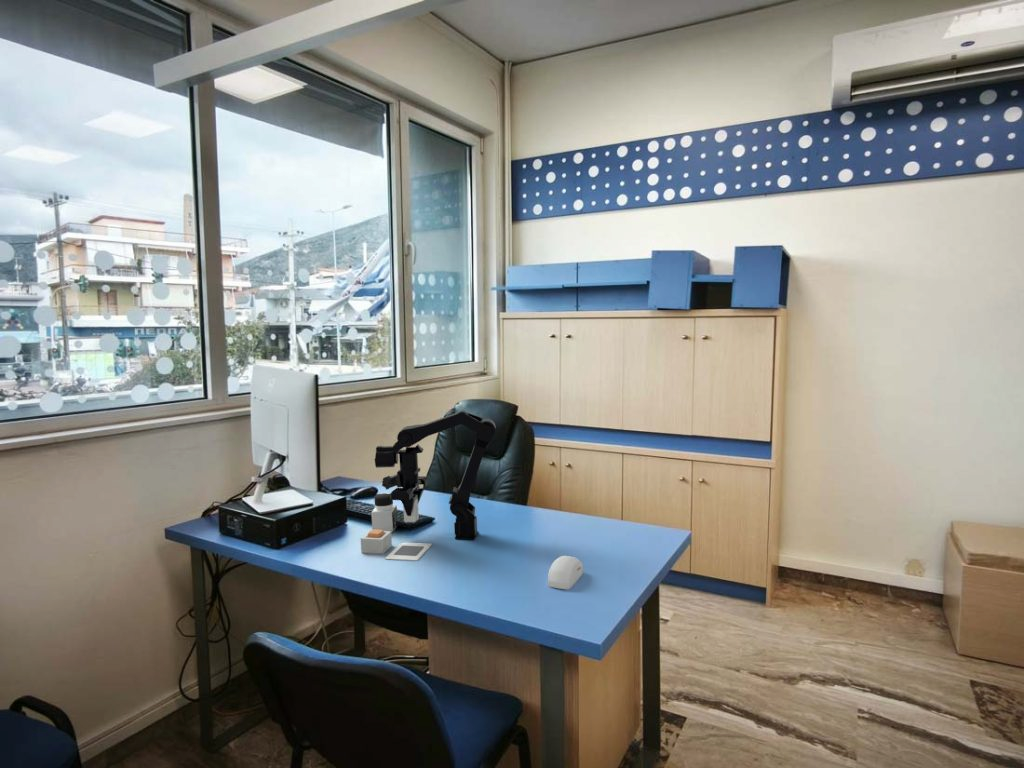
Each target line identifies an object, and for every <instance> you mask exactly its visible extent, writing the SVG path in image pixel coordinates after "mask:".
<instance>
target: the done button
mask: <svg viewBox="0 0 1024 768" xmlns="http://www.w3.org/2000/svg"><path fill="white" fill-rule="evenodd" d="M369 531H370V532H369ZM369 531H368V532H369V533H368V532H367V533H368V538H381V537H382V536H383V535H384V530H379V529H373V530H372V529H371V530H369Z"/></svg>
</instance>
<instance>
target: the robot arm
mask: <svg viewBox="0 0 1024 768" xmlns="http://www.w3.org/2000/svg"><path fill="white" fill-rule="evenodd" d="M460 425H461V426H464V427H466V428H467V429H469V430H471V431H473V432H475V433H476V435H475V441H474V446H473V449H472V452H471V454H470V457H469V460H468V463H467V466H466V468H465V471H464V474H463V476H462V479H461V483H459V486H458V488H457V487H456V486H454V487H453V490H452V493H451V496H450V497H449V501H448V505H449V511H450V513H451V514H452V515H454V516H455V522H454V540H472V541H473V540H475V539H476V537H478V536H479V534H480V532H479V531H478V518H477V515H475V514H476V507H475V506H474V505H473V504H472V503H471V502H470V499H471V498H470V497H471V492H472V488H473V484H474V482H475V479H476V476H477V474H478V471H479V468H480V465H481V462H482V460H483V457H484V454H485V451H486V450H487V448H488V446H489V445H490V444H491V442H492V440H493V438H494V437H495V434H496V423H495V422H494V421H493V419H491V418H489V417H485V418H482V417H480V416H479V415H475V414H472V413H470V412H467V411H466V410H463V409H461V410H459V411H457V412H456V413H452V414H450V415H446V416H444V417H441V418H438V419H435V420H432V421H429V422H426V423H422V424H414V425H407V426H404V427H402V429H401V430H400V431H399V432H398V434H397V437H396V439H397V441H396V442H395V443H394V444H393V446H391V445H389V446H388V445H387V446H384V445H377V446H376V448H375V457H374V466H375V468H376V469H377V468H379V469H380V468H395V466H396V465H398V463H399V470H397V472H396V474H394V475H387V476H385V477H383V478H382V481H381V482H382V483H381V487H384V488H385V490H389V489H391V488H393V487H396V488H395V489H393V490H392V491H391V492H390V500H393V501H400V502H401V503H402V505H403V506H404V508H405V511H406V514H407V516H411V513H412V510H413V506H414V503H415V499H416V495H418V504H420V503H419V502H420V500H421V497H422V495H423V494H424V491H425V488H426V487H427V486H428V485H429V478H428V477H427V476H425V475H421V476H419V473H420V472H421V467H419V461H418V459H419V458H418V454H421V453H423V451H424V448H423V447H421V446H420V445H419V444H417V443H419V442H420V441H422V440H424V439H425V438H427V437H429V436H432V435H435V434H437V433H441V432H443V431H446V430H449V429H452V428H454V427H458V426H460ZM415 444H417V445H415ZM413 445H415V446H413ZM403 448H405V449H403ZM420 485H423V487H425V488H422V487H421V486H420ZM413 494H416V495H413ZM404 508H403V509H404Z"/></svg>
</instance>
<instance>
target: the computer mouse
mask: <svg viewBox="0 0 1024 768" xmlns="http://www.w3.org/2000/svg"><path fill="white" fill-rule="evenodd" d="M583 564H584V563H583V562H581V561H580V560H579V559H578V558H577V557H574V556H569V555H561V556H559V557H558V558H556V559H554V561H553V562H552V564H551V565H550V567H549V570H548V575H547V586H548V587H550V588H555V589H559V590H570V589H571V588H572V587H573V586H574V585H575V583H577V582H578V580H579V579H580V578H581V577H582V575H583V574H584V565H583Z"/></svg>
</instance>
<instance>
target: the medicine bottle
mask: <svg viewBox="0 0 1024 768" xmlns="http://www.w3.org/2000/svg"><path fill="white" fill-rule="evenodd" d="M390 493H391V492H390ZM390 493H389V492H380V493H378V494H375V495H374V498H373V499H374V508H373V510H372V511H371V527H372V529H371V530H373V529H379V530H384V531H391V533H393V532H395V529H396V528H397V526H396V519H397V520H398V508H397V507H398V506H397V505H396V504H394V500H390Z"/></svg>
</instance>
